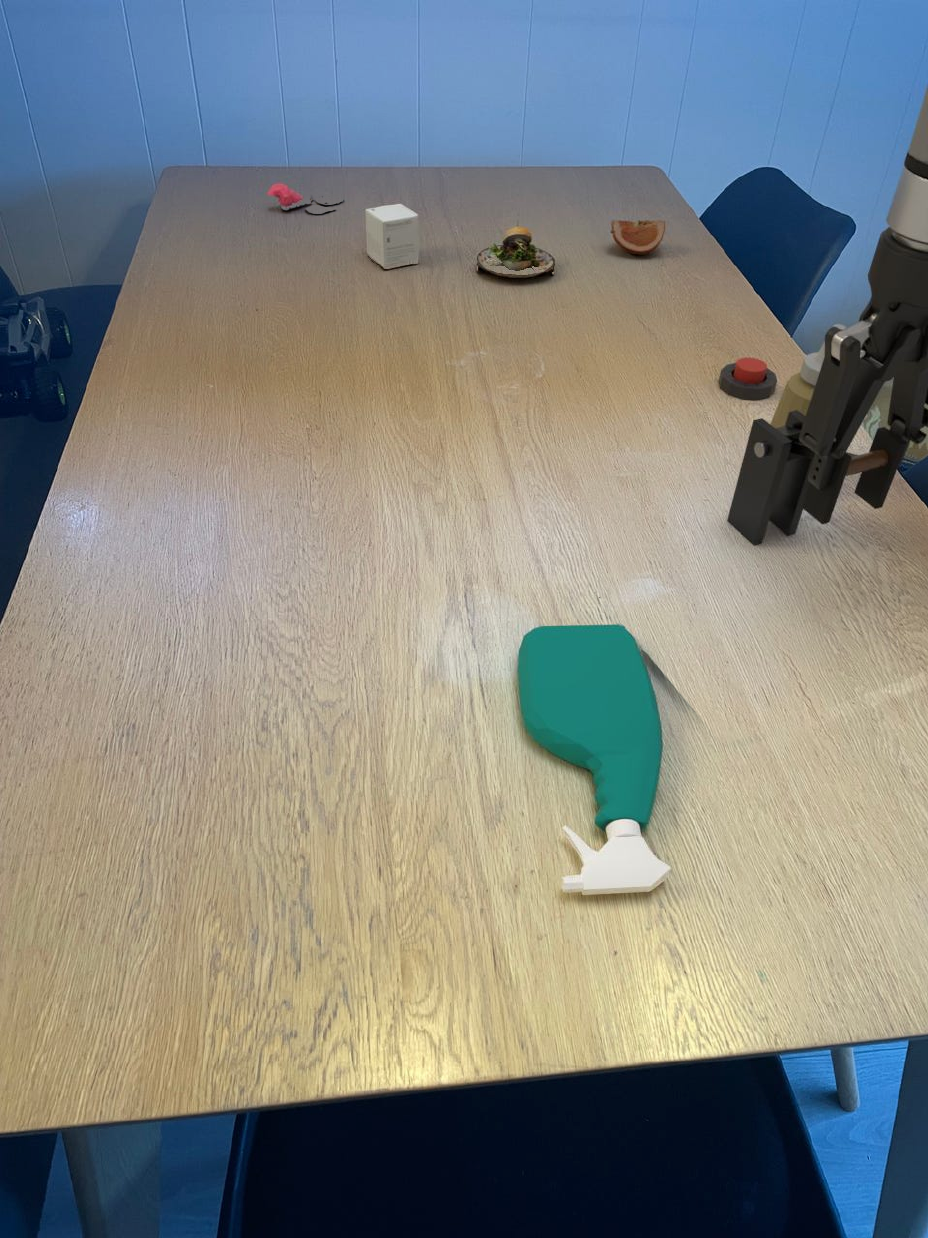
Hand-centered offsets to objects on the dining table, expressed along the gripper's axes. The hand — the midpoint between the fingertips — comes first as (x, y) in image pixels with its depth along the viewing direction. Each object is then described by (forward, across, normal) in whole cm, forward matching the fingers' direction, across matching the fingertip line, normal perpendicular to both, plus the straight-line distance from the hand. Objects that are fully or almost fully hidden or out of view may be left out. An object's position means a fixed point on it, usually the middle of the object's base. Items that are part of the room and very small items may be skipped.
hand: (842, 506), depth 81 cm
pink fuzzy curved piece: (+9, +14, -115) cm, 117 cm away
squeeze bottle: (+10, -9, -15) cm, 20 cm away
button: (+7, -16, -32) cm, 37 cm away
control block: (+9, -16, -30) cm, 36 cm away
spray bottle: (+10, +29, +10) cm, 32 cm away
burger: (+9, -7, -77) cm, 78 cm away
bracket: (+9, 0, -8) cm, 13 cm away
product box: (+9, +9, -87) cm, 88 cm away
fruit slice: (+9, -28, -77) cm, 83 cm away
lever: (-2, 0, -4) cm, 4 cm away
